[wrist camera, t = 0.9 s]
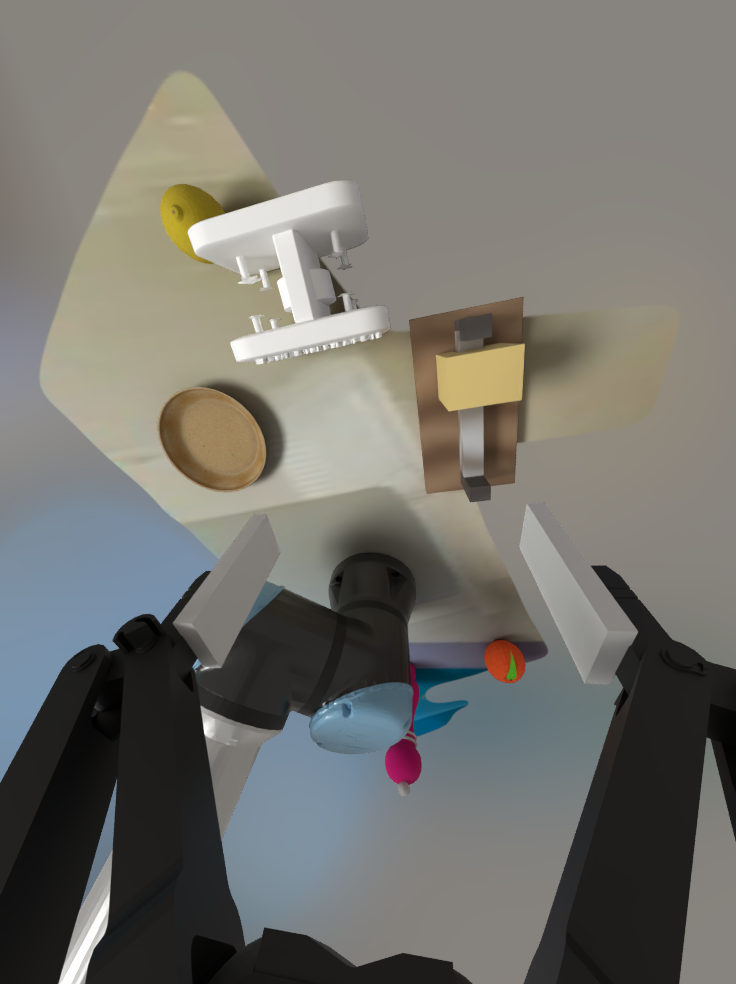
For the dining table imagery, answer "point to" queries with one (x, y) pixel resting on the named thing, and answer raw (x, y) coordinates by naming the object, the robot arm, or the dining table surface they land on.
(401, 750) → the pepper mill
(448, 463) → the rail board
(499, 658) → the clementine
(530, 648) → the dining table surface
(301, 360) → the dining table surface
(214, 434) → the plant saucer
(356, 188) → the cable organizer
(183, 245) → the lemon
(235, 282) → the dining table surface
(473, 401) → the slider
